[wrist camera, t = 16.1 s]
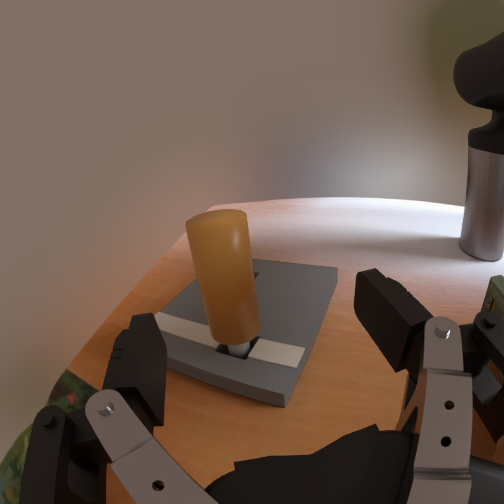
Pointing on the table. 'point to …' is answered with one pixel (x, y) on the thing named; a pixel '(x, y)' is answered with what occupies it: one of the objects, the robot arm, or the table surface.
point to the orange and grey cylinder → (226, 277)
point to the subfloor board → (265, 343)
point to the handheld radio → (495, 299)
